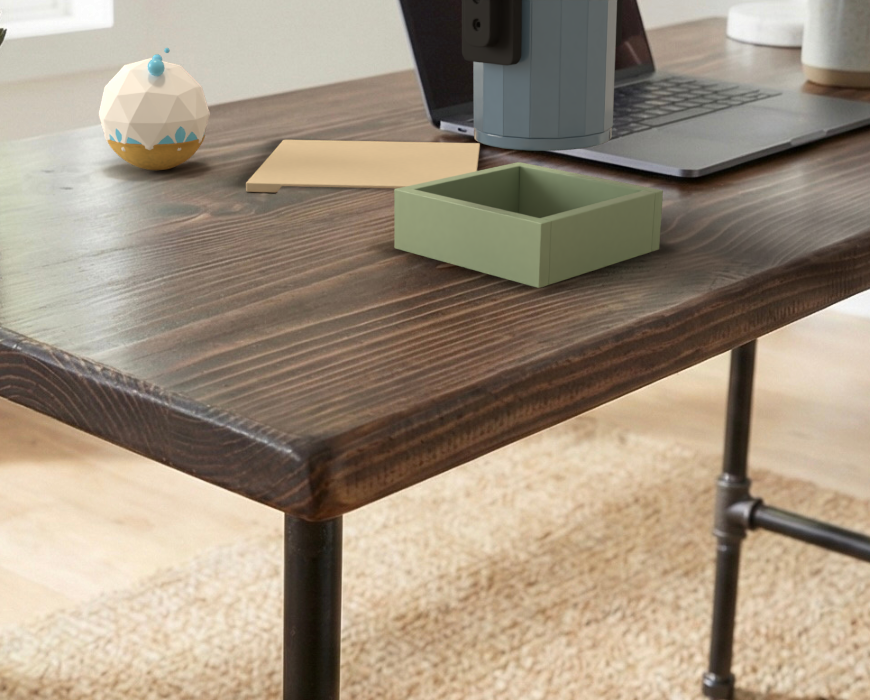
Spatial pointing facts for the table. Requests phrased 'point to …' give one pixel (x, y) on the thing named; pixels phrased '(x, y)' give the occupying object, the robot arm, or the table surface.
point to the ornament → (154, 114)
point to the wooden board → (361, 164)
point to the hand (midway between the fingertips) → (543, 50)
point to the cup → (552, 80)
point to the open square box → (527, 222)
